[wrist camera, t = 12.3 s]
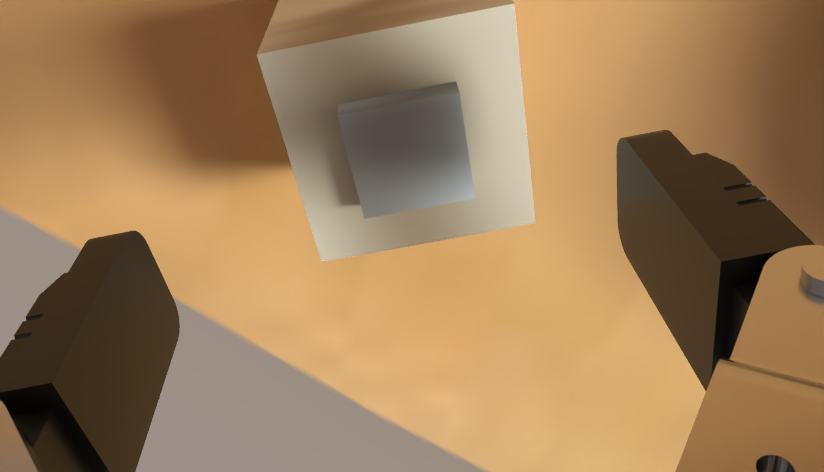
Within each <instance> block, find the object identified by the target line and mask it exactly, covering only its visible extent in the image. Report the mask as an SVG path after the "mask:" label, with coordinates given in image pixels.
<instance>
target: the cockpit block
mask: <svg viewBox="0 0 824 472" xmlns="http://www.w3.org/2000/svg"><path fill="white" fill-rule="evenodd" d="M257 58H258V61H259V64H260V67H261V70H262V74H263V77H264V80H265V83H266V86H267V90H268V93H269V96H270V99H271V102H272V105H273V109H274V112H275V115H276V118H277V121H278V125H279V128H280V131H281V134H282V137H283V140H284V144H285V147H286V150H287V153H288V156H289V160H290V163H291V166H292V169H293V172H294V176H295V179H296V182H297V185H298V188H299V191H300V195H301V198H302V201H303V204H304V207H305V211H306V214H307V217H308V220H309V223H310V226H311V230H312V233H313V236H314V239H315V242H316V246H317V249H318V252H319V255H320V258H321V261H322V262H325V261H330V260H336V259H341V258H347V257H352V256H358V255H363V254H369V253H374V252H380V251H385V250H391V249H396V248H402V247H407V246H413V245H418V244H424V243H429V242H435V241H440V240H446V239H451V238H457V237H462V236H468V235H473V234H479V233H485V232H490V231H496V230H501V229H507V228H512V227H518V226H523V225H529V224H534V223H536V222H535V212H534V202H533V191H532V181H531V171H530V160H529V150H528V140H527V129H526V119H525V109H524V98H523V88H522V78H521V67H520V57H519V47H518V36H517V26H516V16H515V5H514V2H513V1H512V0H279V1H278V3H277V6H276V8H275V11H274V13H273V16H272V18H271V20H270V23H269V25H268V28H267V30H266V33H265V35H264V38H263V40H262V43H261V45H260V47H259V50H258V52H257Z"/></svg>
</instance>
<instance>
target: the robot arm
mask: <svg viewBox="0 0 824 472" xmlns="http://www.w3.org/2000/svg"><path fill="white" fill-rule="evenodd" d="M617 209H618V228H619V234H620V239H621V243H622V246H623V249H624V251H625V254H626V256H627V258H628V259H629V261H630V263H631V265H632V266H633V268H634V270H635V271H636V273H637V275H638V277H639V278H640V280H641V282H642V283H643V285H644V287H645V288H646V290H647V292H648V294H649V295H650V297H651V299H652V300H653V302H654V304H655V305H656V307H657V309H658V311H659V312H660V314H661V316H662V317H663V319H664V321H665V322H666V324H667V326H668V328H669V329H670V331H671V333H672V334H673V336H674V338H675V339H676V341H677V343H678V345H679V346H680V348H681V350H682V351H683V353H684V355H685V356H686V358H687V360H688V362H689V363H690V365H691V367H692V368H693V370H694V372H695V373H696V375H697V377H698V379H699V380H700V382H701V384H702V385H703V387H704V389H705V391H706V393H705V396H704V399H703V401H702V404H701V407H700V409H699V412H698V414H697V417H696V420H695V422H694V425H693V427H692V430H691V433H690V435H689V438H688V441H687V443H686V446H685V448H684V451H683V454H682V456H681V459H680V461H679V464H678V467H677V469H676V472H824V245H815V244H814V243H813V242H812V241H811V240H810V239H809V238H808V237H807V236H806V235H805V234H804V233H803V232H802V231H801V230H800V229H799V228H798V227H797V226H796V225H795V224H793V223H792V222H791V221H790V220H789V219H788V218H787V217H786V216H785V215H784V214H783V213H782V212H781V211H780V210H779V209H778V208H777V207H776V206H775V205H774V204H773V203H772V202H771V201H770V200H768V201H767V200H766V196H765V195H764V194H763V193H762V192H761V191H760V190H759V189H758V188H757V187H756V186H752V184H751V181H750V180H749V179H748V178H747V177H746V176H745V175H743V174H742V173H741V172H740V171H739V170H738V169H737V168H736V167H735V166H734V165H733V164H730V163H728V162H726V161H723V160H721V159H719V158H717V157H714V156H712V155H710V154H707V153H702V154H696V155H692V154H691V153H690V152H689V151H688V150H687V149H686V148H685V147H684V146H683V145H682V143H681V142H680V141H679V140H678V139H677V138H676V137H675V136H674V135H673V134H672V133H671V132H670V131H669V130H662V131H657V132H651V133H646V134H641V135H636V136H630V137H625V138H621V139H620V140H619V142H618V145H617ZM179 328H180V327H179V316H178V311H177V307H176V304H175V302H174V299H173V297H172V295H171V293H170V291H169V289H168V287H167V284H166V282H165V280H164V278H163V276H162V274H161V272H160V270H159V267H158V265H157V263H156V261H155V259H154V257H153V255H152V253H151V251H150V248H149V246H148V244H147V242H146V240H145V239H144V237H143V236H142V235H141V234H140V233H139V232H137V231H129V232H124V233H119V234H114V235H108V236H103V237H98V238H93V239H89V240H88V241H87V242H86V243H85V245H84V247H83V248H82V250H81V252H80V253H79V255H78V257H77V259H76V260H75V262H74V264H73V265H72V267H71V269H70V270H69V272H68V273H64V274H63V275H62V276H60V277H59V278H58V279H57V280H56V281H55V282H54V283H53V284H51V286H49V287H48V288H47V289H46V290H45V291H44V292H43V293H41V294H40V295H39V297H38V298H37V300H36V302H35V303H34V305H33V306H32V308H31V310H30V311H29V313H28V315H27V316H26V321H24V322H22V324H21V326H20V327H19V329H18V330H17V332H16V333H15V335H14V336H15V340H11V341H10V343H9V345H8V346H7V348H6V350H5V351H4V353H3V354H2V356H1V357H0V472H135V471H136V468H137V464H138V461H139V458H140V455H141V452H142V449H143V446H144V443H145V440H146V436H147V434H148V431H149V427H150V424H151V421H152V418H153V415H154V412H155V409H156V406H157V403H158V400H159V397H160V393H161V390H162V387H163V384H164V381H165V378H166V374H167V372H168V368H169V366H170V362H171V359H172V356H173V353H174V350H175V347H176V344H177V341H178V337H179Z"/></svg>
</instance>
